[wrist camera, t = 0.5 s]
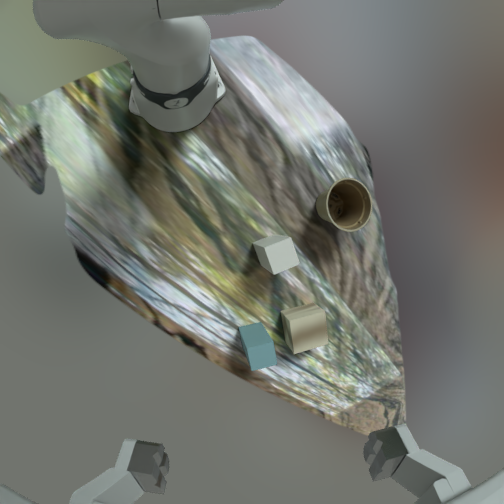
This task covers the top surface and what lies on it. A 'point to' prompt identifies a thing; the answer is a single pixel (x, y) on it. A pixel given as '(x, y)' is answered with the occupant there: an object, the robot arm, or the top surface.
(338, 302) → the top surface
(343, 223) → the flower pot
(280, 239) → the white block
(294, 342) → the birch block
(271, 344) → the teal block
